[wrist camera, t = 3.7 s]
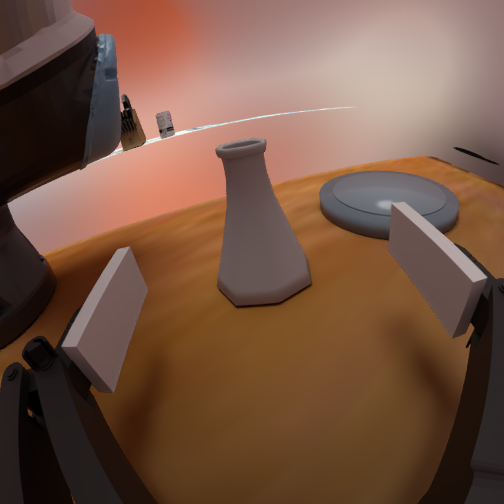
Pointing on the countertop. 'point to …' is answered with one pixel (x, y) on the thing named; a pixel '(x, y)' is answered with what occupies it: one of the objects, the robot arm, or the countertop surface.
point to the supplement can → (165, 124)
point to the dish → (385, 201)
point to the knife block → (130, 127)
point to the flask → (256, 232)
